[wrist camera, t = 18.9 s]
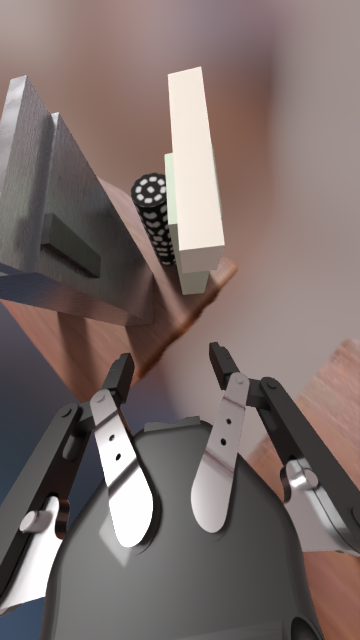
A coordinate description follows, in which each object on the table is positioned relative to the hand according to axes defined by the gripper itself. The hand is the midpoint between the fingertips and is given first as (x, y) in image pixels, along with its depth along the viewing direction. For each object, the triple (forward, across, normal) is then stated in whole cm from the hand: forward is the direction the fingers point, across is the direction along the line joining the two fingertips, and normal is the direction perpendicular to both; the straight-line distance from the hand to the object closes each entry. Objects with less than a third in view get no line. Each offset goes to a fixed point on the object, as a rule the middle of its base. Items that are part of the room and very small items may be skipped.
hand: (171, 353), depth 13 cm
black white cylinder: (+41, +1, +6) cm, 42 cm away
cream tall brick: (+14, +5, +16) cm, 22 cm away
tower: (+33, -11, -6) cm, 35 cm away
